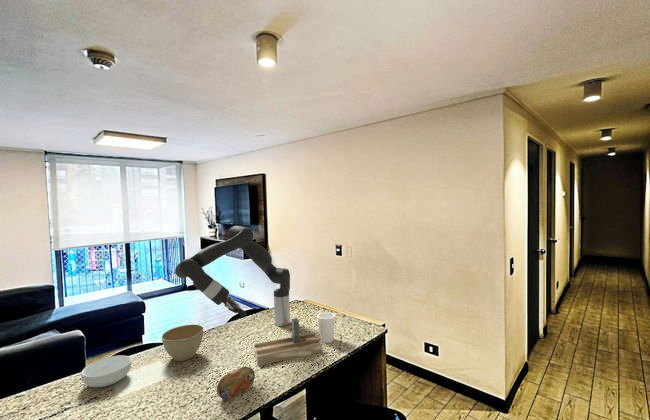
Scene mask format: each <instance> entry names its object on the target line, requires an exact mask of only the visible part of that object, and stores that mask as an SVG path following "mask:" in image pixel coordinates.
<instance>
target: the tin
mask: <svg viewBox="0 0 650 420" xmlns="http://www.w3.org/2000/svg"><path fill="white" fill-rule="evenodd" d="M255 378H256V375H255V371H254V369H253V368H251V367H249V366H241V367H239V368H237V369H235V370H234V371H232V372H229V373H227V374H225V375H223V376H222V377H221V379H220V380H219V381H218V384H217V386H216V391H217V395H218V397H219V398H220V399H221V400H223V401H228V400H229V401H230V400H232V399H233V398H235V397H238V396H239V395H240V394H242V393H244V392H246V391H247V390H249V389H251V387H252V386H253V384H254V381H255Z"/></svg>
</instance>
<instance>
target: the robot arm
mask: <svg viewBox="0 0 650 420" xmlns="http://www.w3.org/2000/svg"><path fill="white" fill-rule="evenodd" d="M227 235H228V238H229V239H227V240H224V241H221V242H216V243H214V244H211V245H209V246H206V247H204V248H203V249H201V250H200V251H198V252H197V253H196V254H194V255H193V256H191V257H190V258H189V257H188V258H184V259H182V260H181V261H180V262H179V263H178V264H177V265H176V266H175V269H174V272H175V275H176V276H177V278H180V279H186V278H188V279H190V280H191V281H192V285H193V286H194V287H195V288H196V289H197V290H199V291H200V292H201V293H203V294H204V295H205V297H207V298H208V299H209V300H210V301H212V302H213V303H214V304H216V305H217V306H219V305H221V304H223V305H224V307H225V308H226V309H227V310H228V311H230V312H232V313H235V314H238V315H239V316H241V317H242V318H245V317H246V315H247V311H245V310H244V309H243V308H241V306H240V305H239V303H237V301H236V300H235V299H234V298H233V297H232V296H229V294H230V290H229V289H228V288H227V287H225V286H224V285H222V283H220V282H218V281H217V280H216V279H214V278H213V277H211V276H210V275H209V274H208V273H206V272H205V270H204V269H203V268H204V267H206V266H208V265H209V264H211V263H213V262H215V261H216V260H217V259H219V258H221V257H223V256H225V255H226V254H227V255H228V254H229V253H231V252H233V251H236V250H238V249H241V250H242V251H243V252H244V253H245V254H246V256H247V257H248V258H250V260H251V261H252V262H253V263H254V264H255V265H256V266H257V267H258V268H259V269H261V271H262V272H264V274H265V275H266V276H267V278H268V279H269V280H270V281H271V282H272V283H273V284H277V285H279V288H276V289H274V290H273V310H274V311H273V312H274V313H273V314H274V316H273V317H274V325H275V326H277V327H285V326H288V325H290V324H291V310H290V308H291V307H290V289H291V272H290V270H289V269H287V268H282V267H276V266H275V265H274V264H273V259H272V255H271V254H270V252H269V251H268V250H267V249H266V248H264V247H263V246H262V245H260V244H258V242H256V241H253V239H254V231H253V230H252V229H251V228H249V227H247V226H241V225H234V226H232V227H230V228H229V231H228V234H227Z"/></svg>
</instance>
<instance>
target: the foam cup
mask: <svg viewBox="0 0 650 420" xmlns="http://www.w3.org/2000/svg"><path fill="white" fill-rule="evenodd" d="M316 317H317V318H316V319H317V325H318V331H319V335H320V341H321V342H322V343H323V344H324V343H325V344H330V343H333V342H334V335H335V325H336V324H335V323H336V314H335V313H333V312H330V311H329V312H326V311H324V312H320V313H318V314H317V316H316Z"/></svg>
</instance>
